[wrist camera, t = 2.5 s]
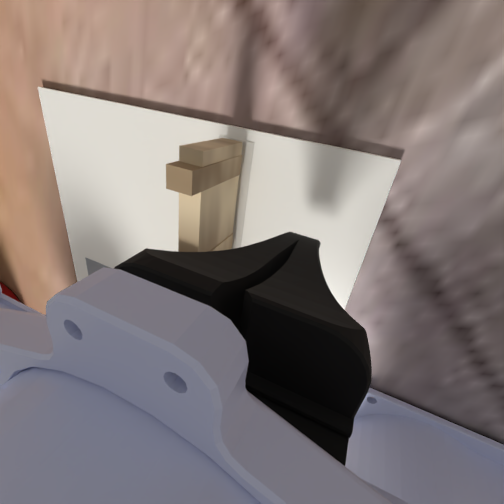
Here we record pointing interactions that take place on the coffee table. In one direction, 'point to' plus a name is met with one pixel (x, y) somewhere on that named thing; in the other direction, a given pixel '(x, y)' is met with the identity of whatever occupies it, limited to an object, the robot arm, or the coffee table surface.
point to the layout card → (167, 201)
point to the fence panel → (206, 193)
